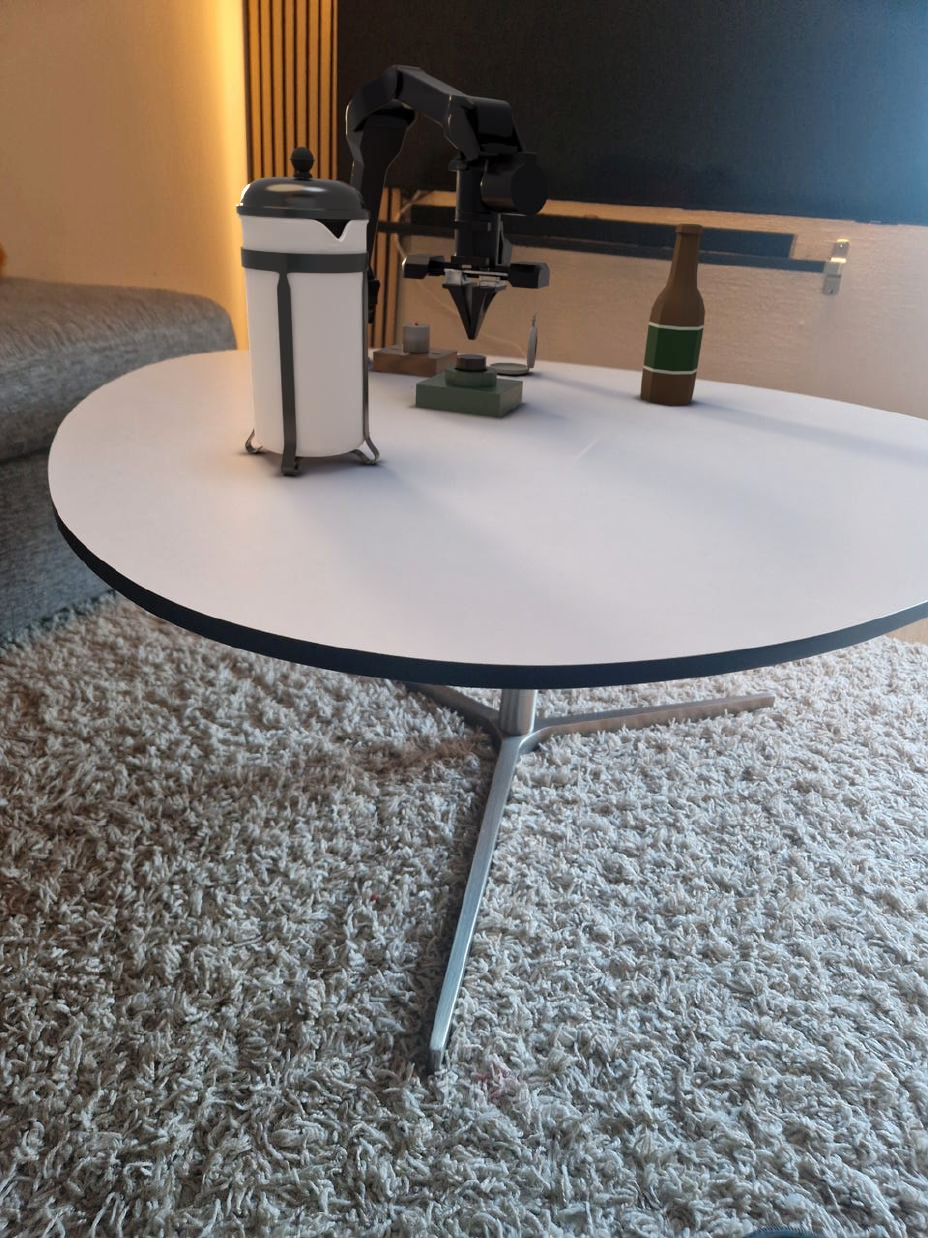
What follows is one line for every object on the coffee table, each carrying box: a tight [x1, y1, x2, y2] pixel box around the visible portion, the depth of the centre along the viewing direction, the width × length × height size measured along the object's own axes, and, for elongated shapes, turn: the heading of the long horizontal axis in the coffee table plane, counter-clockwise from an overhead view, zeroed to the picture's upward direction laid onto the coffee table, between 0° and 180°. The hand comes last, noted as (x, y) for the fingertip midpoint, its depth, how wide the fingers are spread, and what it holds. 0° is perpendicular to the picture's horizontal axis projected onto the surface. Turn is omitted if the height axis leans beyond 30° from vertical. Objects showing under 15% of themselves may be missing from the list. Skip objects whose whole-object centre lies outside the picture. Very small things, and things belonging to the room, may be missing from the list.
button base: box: [415, 365, 524, 419], centre depth 123 cm, size 12×10×5 cm
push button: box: [456, 353, 487, 372], centre depth 122 cm, size 4×4×2 cm
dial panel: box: [372, 343, 458, 378], centre depth 146 cm, size 11×9×3 cm
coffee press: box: [235, 146, 381, 476], centre depth 92 cm, size 17×16×30 cm
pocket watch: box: [488, 310, 538, 376], centre depth 145 cm, size 8×8×10 cm
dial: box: [401, 320, 431, 353], centre depth 144 cm, size 4×4×4 cm
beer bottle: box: [639, 222, 706, 406], centre depth 128 cm, size 8×8×24 cm
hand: (472, 339), depth 120 cm, fingers closed
